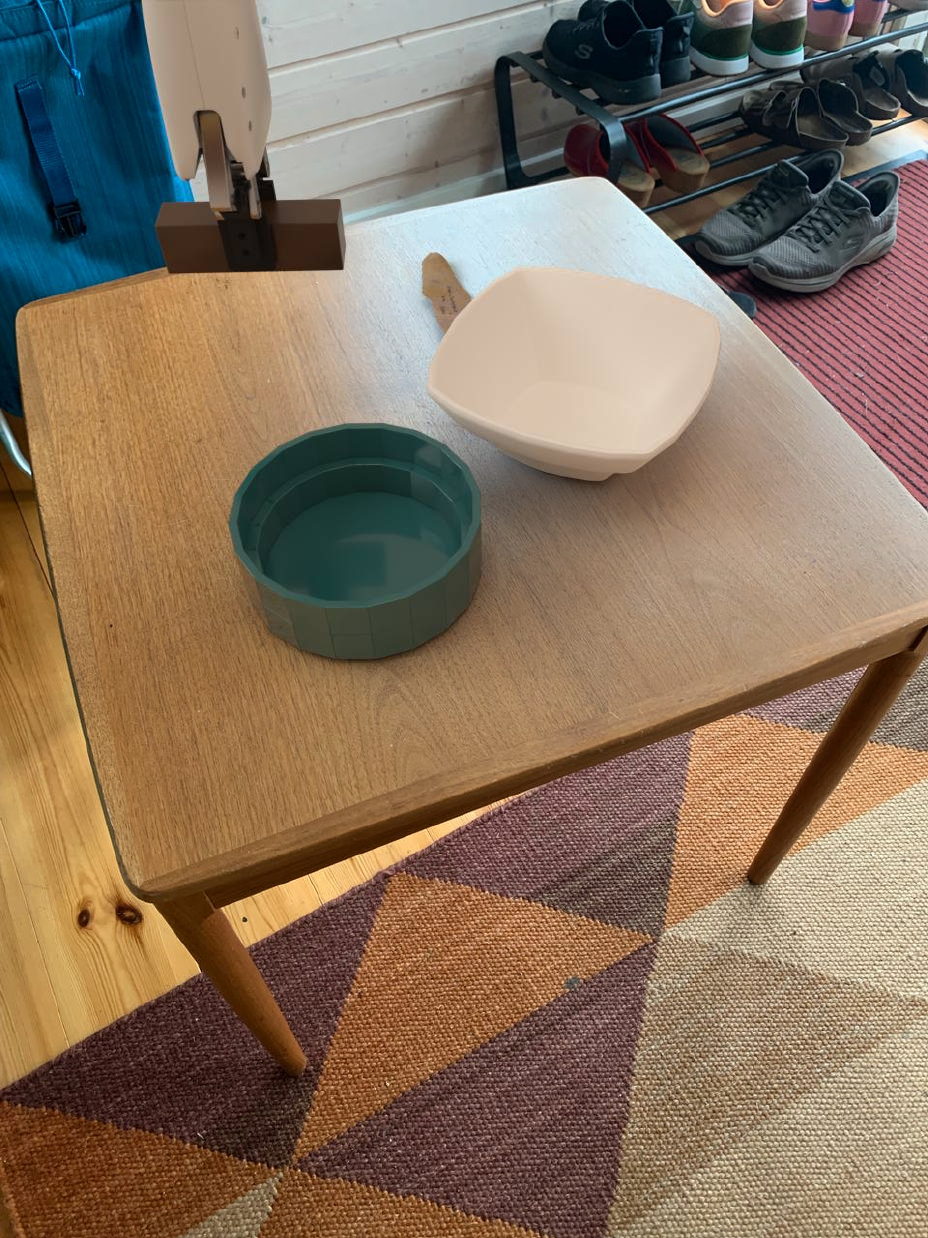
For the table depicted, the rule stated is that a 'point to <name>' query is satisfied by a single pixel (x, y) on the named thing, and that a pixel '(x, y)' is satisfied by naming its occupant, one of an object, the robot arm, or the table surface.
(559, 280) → the bowl
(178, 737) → the table surface
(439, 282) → the stone tool
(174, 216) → the brown wooden block
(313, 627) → the mixing bowl
